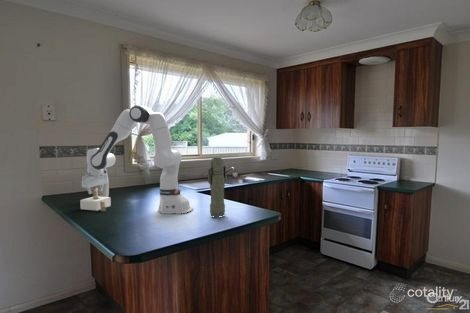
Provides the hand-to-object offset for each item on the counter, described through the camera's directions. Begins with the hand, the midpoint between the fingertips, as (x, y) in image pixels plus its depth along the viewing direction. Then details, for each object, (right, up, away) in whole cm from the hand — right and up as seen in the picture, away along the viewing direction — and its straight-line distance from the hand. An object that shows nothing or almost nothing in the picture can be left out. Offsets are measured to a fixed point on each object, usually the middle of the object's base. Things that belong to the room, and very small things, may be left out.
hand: (95, 192), depth 195 cm
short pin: (+9, -11, -8) cm, 16 cm away
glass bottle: (-6, -9, +21) cm, 24 cm away
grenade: (+83, -12, -20) cm, 86 cm away
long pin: (0, -10, +1) cm, 10 cm away
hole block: (0, -10, +1) cm, 10 cm away
